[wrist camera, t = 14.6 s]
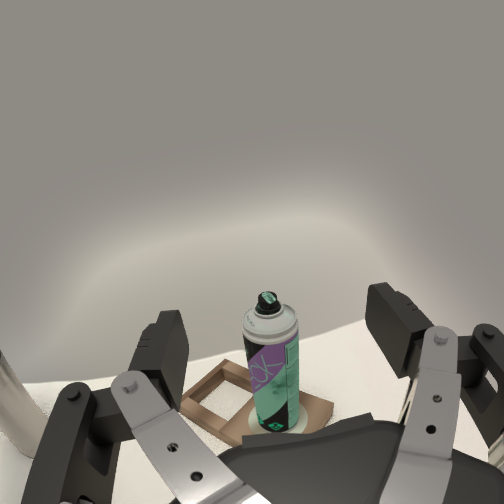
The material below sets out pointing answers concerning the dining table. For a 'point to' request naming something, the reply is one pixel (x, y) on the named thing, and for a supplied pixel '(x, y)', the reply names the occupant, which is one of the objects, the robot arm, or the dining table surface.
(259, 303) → the spray can
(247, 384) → the walnut tray
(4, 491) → the dining table surface
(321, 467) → the robot arm
